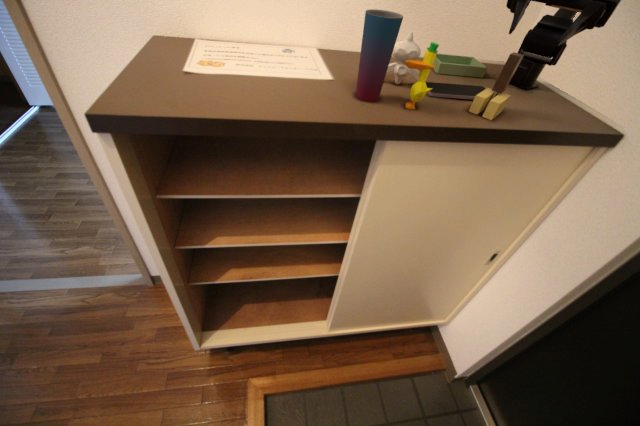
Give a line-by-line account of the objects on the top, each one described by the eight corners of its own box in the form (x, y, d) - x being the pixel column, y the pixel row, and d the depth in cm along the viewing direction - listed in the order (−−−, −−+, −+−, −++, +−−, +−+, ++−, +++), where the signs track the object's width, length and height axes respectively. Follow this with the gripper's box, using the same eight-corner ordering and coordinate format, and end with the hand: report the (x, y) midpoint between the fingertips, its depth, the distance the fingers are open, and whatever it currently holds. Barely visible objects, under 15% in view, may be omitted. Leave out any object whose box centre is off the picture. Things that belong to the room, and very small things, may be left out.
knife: (486, 105, 64) (514, 51, 56) (495, 108, 63) (524, 54, 56) (481, 109, 62) (509, 54, 55) (490, 112, 62) (520, 57, 54)
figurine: (372, 84, 67) (384, 30, 59) (372, 77, 70) (383, 25, 63) (423, 91, 66) (441, 38, 59) (420, 84, 70) (437, 32, 62)
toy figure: (393, 108, 58) (412, 42, 50) (392, 101, 61) (410, 37, 52) (426, 112, 58) (450, 47, 50) (423, 105, 61) (446, 42, 52)
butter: (479, 103, 65) (487, 87, 62) (501, 111, 63) (510, 95, 60) (468, 111, 61) (475, 95, 58) (491, 120, 59) (500, 103, 56)
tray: (469, 66, 85) (473, 57, 83) (482, 77, 78) (487, 67, 76) (427, 62, 84) (430, 52, 82) (436, 73, 77) (440, 63, 75)
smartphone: (422, 81, 69) (483, 86, 70) (421, 86, 70) (481, 90, 70) (430, 93, 64) (495, 98, 64) (428, 98, 65) (493, 102, 65)
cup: (381, 106, 59) (403, 20, 48) (349, 100, 59) (364, 14, 49) (383, 93, 63) (403, 13, 53) (353, 88, 64) (367, 7, 53)
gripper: (543, -81, 53) (492, -5, 54) (669, -72, 45) (605, 17, 46) (528, -26, 63) (486, 37, 64) (629, -10, 55) (578, 61, 56)
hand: (532, 38), depth 58 cm, fingers open, 9 cm apart
